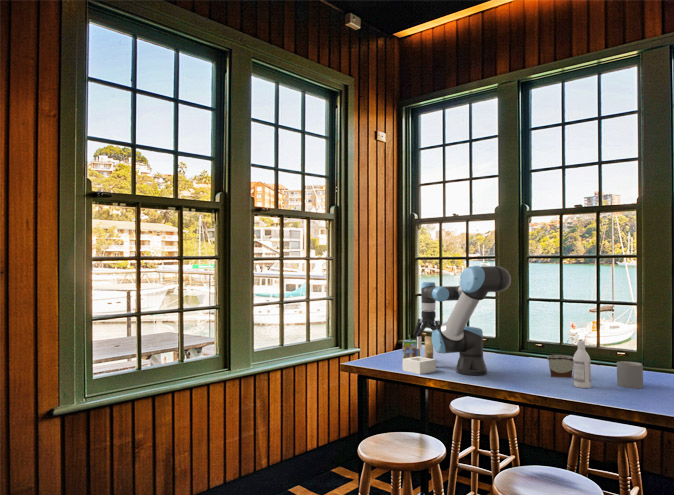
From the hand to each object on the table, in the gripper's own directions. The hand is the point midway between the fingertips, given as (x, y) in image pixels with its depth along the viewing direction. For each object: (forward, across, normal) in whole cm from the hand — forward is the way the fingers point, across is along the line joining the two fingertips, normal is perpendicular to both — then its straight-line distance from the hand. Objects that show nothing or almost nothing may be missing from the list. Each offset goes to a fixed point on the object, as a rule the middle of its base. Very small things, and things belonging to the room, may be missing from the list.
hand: (428, 350), depth 260 cm
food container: (+9, -55, -33) cm, 65 cm away
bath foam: (+8, -72, -20) cm, 76 cm away
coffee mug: (+8, -84, -40) cm, 94 cm away
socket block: (+9, -4, +12) cm, 16 cm away
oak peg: (+9, 0, 0) cm, 9 cm away
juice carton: (+9, +19, -6) cm, 22 cm away
